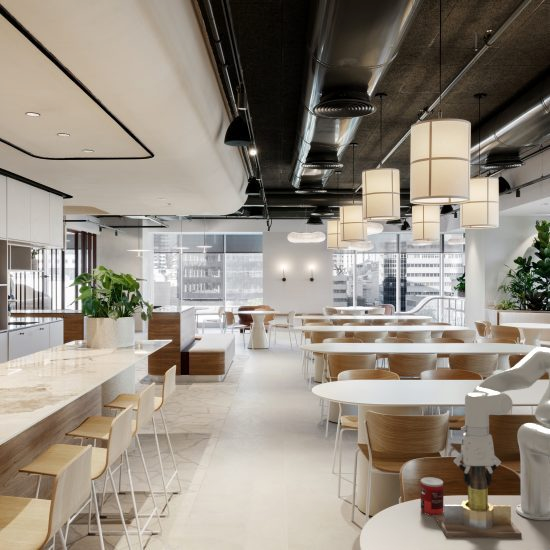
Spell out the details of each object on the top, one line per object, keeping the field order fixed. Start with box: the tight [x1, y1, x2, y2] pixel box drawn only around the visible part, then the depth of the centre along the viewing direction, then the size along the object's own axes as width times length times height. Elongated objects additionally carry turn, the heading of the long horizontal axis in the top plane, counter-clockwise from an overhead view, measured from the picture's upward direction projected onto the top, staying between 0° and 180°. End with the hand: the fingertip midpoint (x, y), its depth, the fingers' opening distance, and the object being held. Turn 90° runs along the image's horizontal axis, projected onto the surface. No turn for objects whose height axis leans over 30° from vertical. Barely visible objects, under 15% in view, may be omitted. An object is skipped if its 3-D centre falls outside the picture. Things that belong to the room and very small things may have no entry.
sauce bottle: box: [467, 466, 489, 510], centre depth 194 cm, size 6×6×20 cm
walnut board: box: [435, 513, 523, 539], centre depth 194 cm, size 14×24×2 cm, turn 88°
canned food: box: [420, 476, 444, 516], centre depth 208 cm, size 8×8×11 cm
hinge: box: [443, 499, 512, 530], centre depth 194 cm, size 10×22×6 cm, turn 88°
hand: (477, 483), depth 194 cm, fingers closed on sauce bottle, 6 cm apart
